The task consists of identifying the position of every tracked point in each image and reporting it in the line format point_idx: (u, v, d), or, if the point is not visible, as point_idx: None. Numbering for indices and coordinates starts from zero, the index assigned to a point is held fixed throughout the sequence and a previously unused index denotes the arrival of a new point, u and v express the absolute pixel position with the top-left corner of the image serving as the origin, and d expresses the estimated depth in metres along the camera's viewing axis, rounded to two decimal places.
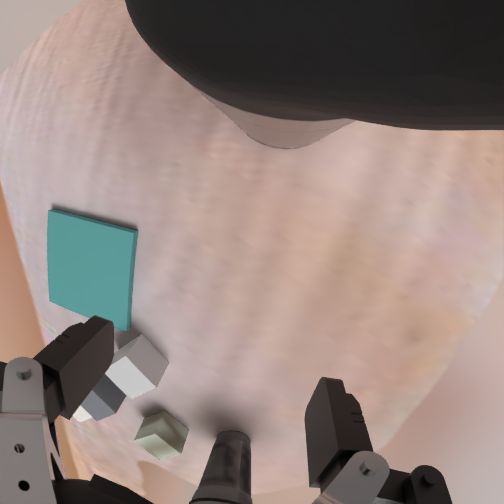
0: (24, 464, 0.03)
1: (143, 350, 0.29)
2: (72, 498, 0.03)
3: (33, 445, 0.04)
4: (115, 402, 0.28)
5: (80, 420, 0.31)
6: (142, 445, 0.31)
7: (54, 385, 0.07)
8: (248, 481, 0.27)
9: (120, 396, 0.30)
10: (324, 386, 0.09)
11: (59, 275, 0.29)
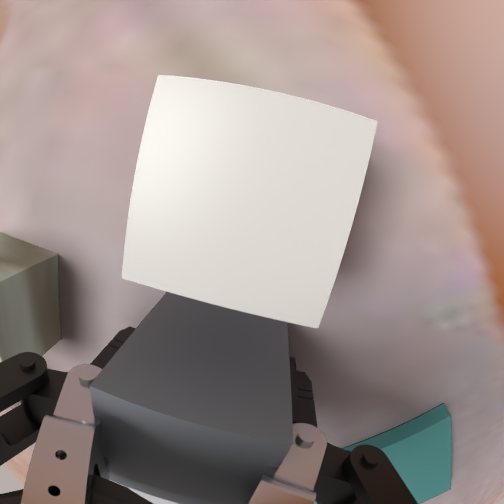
0: (61, 471, 0.03)
1: None
2: None
3: (76, 455, 0.04)
4: None
5: (162, 104, 0.05)
6: None
7: None
8: None
9: None
10: None
11: (423, 465, 0.12)
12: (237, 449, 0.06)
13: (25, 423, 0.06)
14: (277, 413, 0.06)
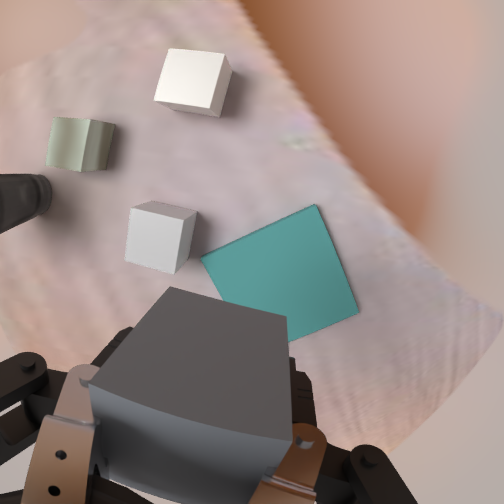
0: (61, 471, 0.03)
1: None
2: None
3: (77, 455, 0.04)
4: None
5: (169, 55, 0.19)
6: (78, 122, 0.21)
7: None
8: None
9: None
10: None
11: (313, 256, 0.26)
12: (236, 447, 0.06)
13: (25, 423, 0.06)
14: (276, 411, 0.06)
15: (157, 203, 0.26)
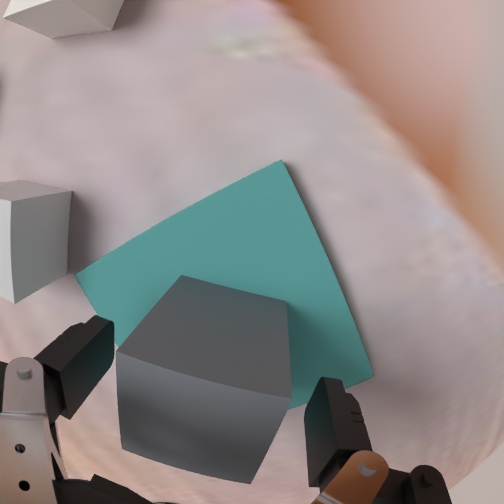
0: (24, 464, 0.03)
1: None
2: (72, 498, 0.03)
3: (33, 445, 0.04)
4: None
5: None
6: None
7: (55, 385, 0.07)
8: None
9: None
10: (323, 386, 0.09)
11: (281, 272, 0.12)
12: (243, 406, 0.07)
13: None
14: (278, 375, 0.08)
15: (20, 182, 0.13)
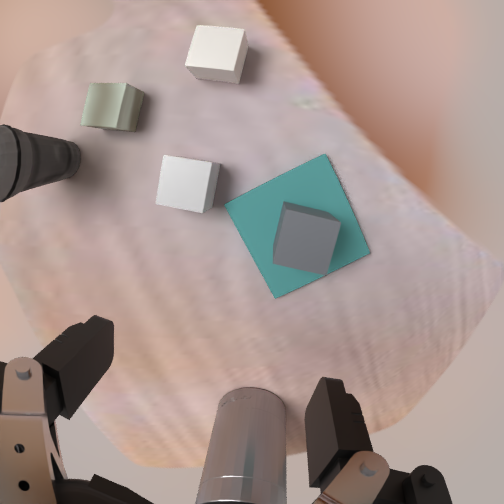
0: (24, 464, 0.03)
1: None
2: (72, 498, 0.03)
3: (33, 445, 0.04)
4: None
5: (197, 30, 0.22)
6: (114, 86, 0.24)
7: (54, 385, 0.07)
8: None
9: None
10: (324, 386, 0.09)
11: (326, 199, 0.29)
12: (326, 226, 0.23)
13: None
14: (334, 219, 0.24)
15: None
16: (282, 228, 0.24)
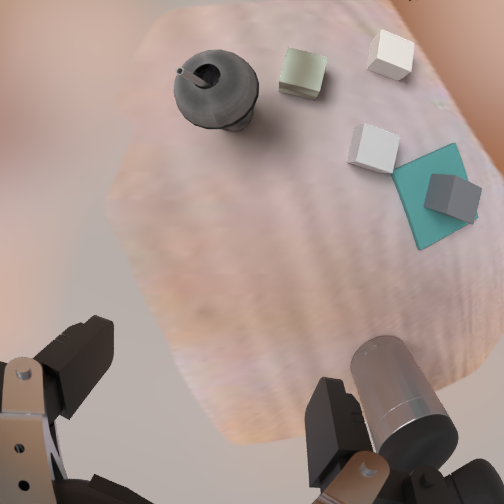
0: (24, 464, 0.03)
1: (375, 170, 0.33)
2: (72, 498, 0.03)
3: (33, 445, 0.04)
4: (445, 213, 0.29)
5: (382, 33, 0.26)
6: (316, 57, 0.28)
7: (54, 385, 0.07)
8: None
9: (439, 211, 0.31)
10: (323, 386, 0.09)
11: None
12: (475, 190, 0.27)
13: None
14: None
15: None
16: (453, 188, 0.28)
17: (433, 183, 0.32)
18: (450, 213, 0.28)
